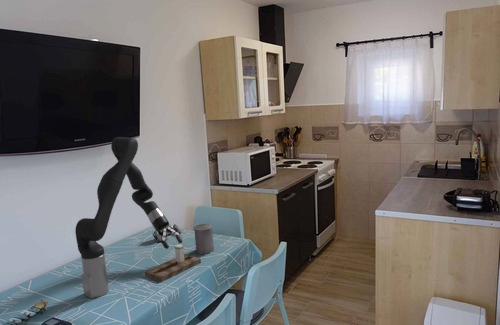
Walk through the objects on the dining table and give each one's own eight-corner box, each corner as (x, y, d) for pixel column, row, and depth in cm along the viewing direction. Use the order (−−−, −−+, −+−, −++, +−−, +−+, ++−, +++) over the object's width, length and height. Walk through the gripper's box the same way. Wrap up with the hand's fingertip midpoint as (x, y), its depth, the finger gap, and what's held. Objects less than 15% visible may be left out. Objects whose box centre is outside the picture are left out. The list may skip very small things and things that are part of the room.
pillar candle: (199, 247, 217) (196, 221, 214) (216, 247, 215) (214, 221, 213) (193, 254, 207) (191, 227, 205) (211, 254, 206) (209, 227, 203)
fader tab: (180, 265, 190) (179, 247, 189) (176, 263, 192) (174, 245, 191) (184, 263, 192) (183, 245, 191) (180, 261, 194) (178, 244, 193)
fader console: (161, 282, 176) (160, 277, 175) (145, 275, 183) (144, 271, 183) (200, 262, 195) (200, 258, 195) (184, 257, 202) (184, 253, 202)
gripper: (149, 219, 191) (166, 245, 185) (172, 212, 202) (188, 236, 196) (143, 227, 195) (160, 254, 189) (166, 220, 206) (182, 245, 200)
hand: (174, 245), depth 193 cm, fingers open, 8 cm apart
